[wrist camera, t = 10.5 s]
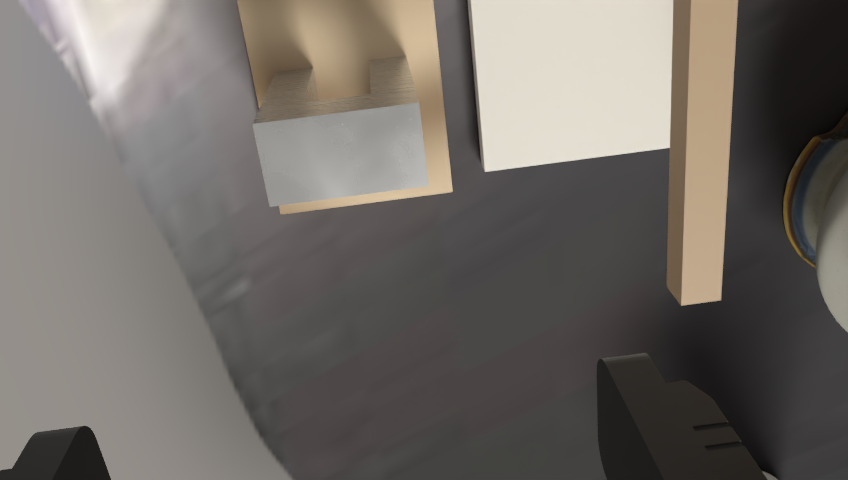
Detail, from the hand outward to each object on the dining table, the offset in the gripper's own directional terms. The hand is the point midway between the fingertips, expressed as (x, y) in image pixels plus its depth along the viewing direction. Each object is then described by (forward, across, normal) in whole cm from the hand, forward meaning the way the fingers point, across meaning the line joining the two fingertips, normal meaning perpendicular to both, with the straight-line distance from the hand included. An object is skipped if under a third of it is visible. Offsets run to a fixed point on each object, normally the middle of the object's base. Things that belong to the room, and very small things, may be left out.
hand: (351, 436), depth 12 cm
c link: (+24, +1, +1) cm, 24 cm away
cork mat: (+24, 0, +1) cm, 24 cm away
